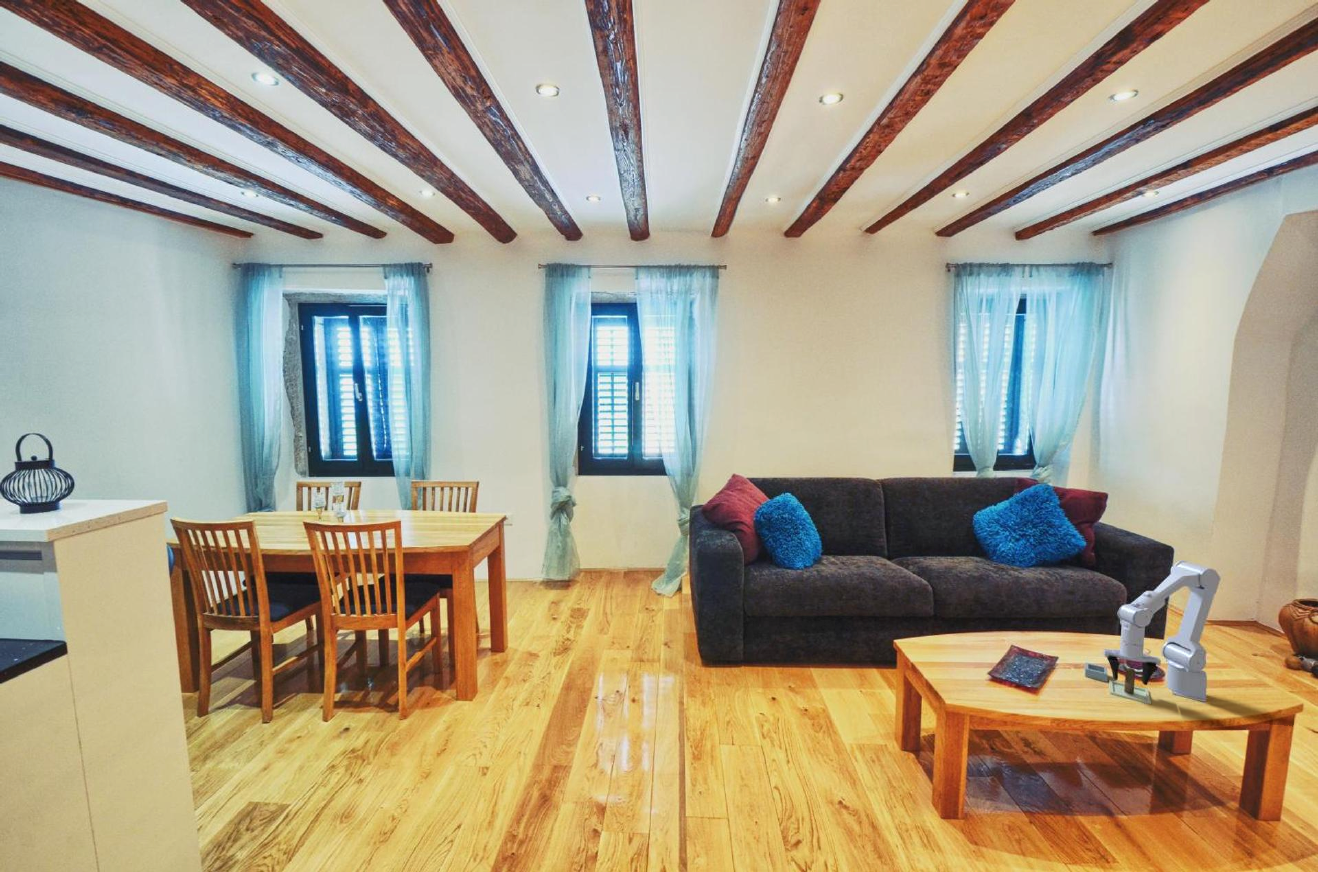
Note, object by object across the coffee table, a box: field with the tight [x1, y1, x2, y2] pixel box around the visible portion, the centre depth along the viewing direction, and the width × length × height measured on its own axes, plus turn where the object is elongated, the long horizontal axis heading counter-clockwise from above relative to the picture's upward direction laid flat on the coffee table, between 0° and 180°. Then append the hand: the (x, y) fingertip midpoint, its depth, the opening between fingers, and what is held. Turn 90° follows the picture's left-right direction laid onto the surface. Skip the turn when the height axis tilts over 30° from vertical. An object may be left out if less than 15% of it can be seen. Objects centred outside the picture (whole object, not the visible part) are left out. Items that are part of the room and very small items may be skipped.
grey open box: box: [1084, 662, 1109, 683], centre depth 189 cm, size 6×6×3 cm
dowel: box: [1124, 667, 1136, 694], centre depth 178 cm, size 2×2×8 cm
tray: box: [1108, 679, 1152, 705], centre depth 179 cm, size 10×10×1 cm
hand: (1129, 680), depth 178 cm, fingers open, 7 cm apart
